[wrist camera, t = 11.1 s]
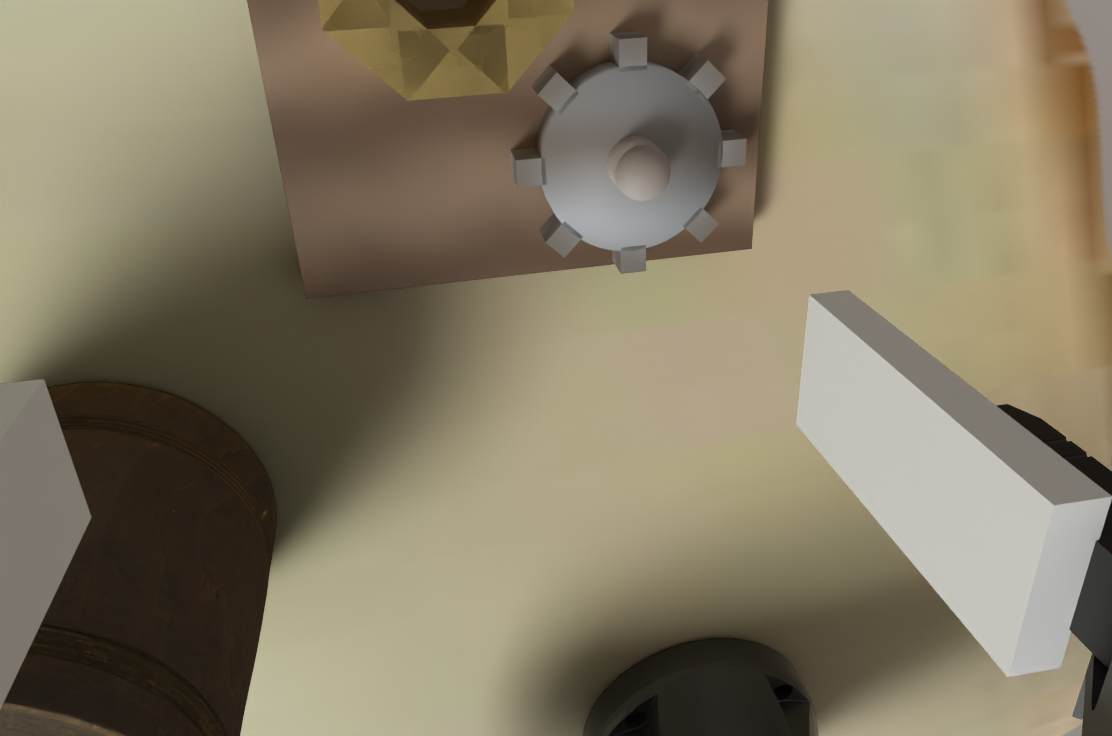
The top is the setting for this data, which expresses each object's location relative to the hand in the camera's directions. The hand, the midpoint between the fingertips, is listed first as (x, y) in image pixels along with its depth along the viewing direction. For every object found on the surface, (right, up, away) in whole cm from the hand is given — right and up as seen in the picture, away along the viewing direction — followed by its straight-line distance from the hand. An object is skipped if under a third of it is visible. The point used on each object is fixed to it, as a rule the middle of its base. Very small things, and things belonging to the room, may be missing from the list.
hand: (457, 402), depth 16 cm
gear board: (0, +17, +19) cm, 26 cm away
